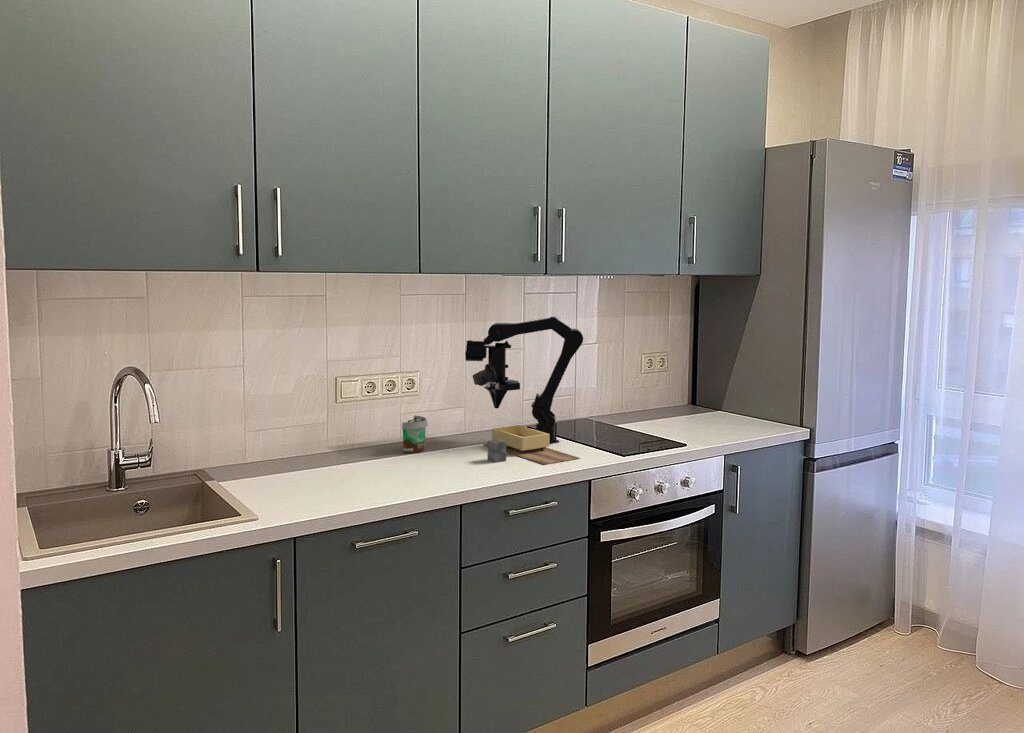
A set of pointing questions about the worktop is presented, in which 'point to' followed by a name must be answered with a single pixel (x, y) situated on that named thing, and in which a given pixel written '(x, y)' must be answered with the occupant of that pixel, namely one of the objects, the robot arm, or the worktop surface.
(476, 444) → the worktop surface
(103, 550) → the worktop surface
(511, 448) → the brown board
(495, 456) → the charcoal block
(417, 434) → the food container
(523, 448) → the wooden tray
